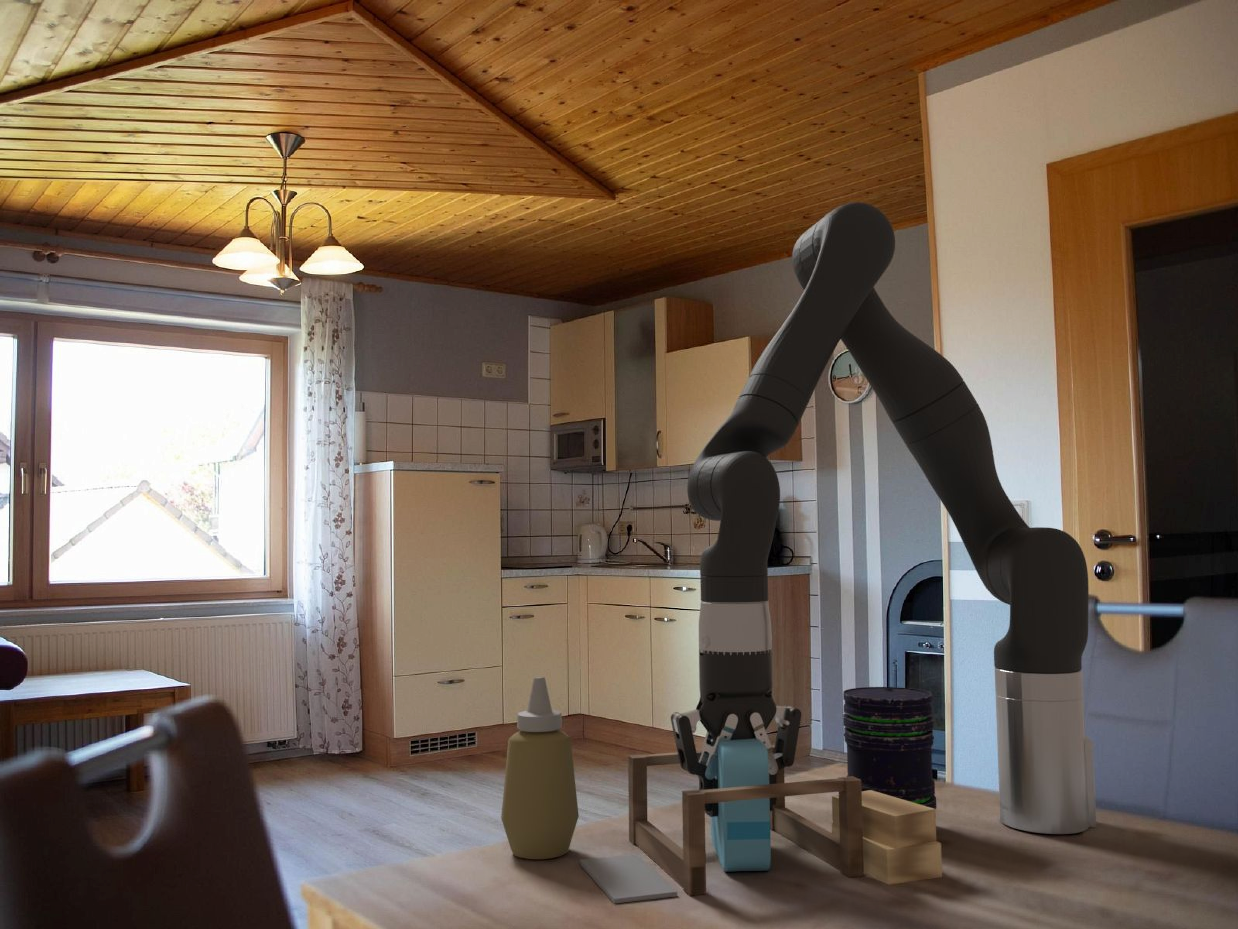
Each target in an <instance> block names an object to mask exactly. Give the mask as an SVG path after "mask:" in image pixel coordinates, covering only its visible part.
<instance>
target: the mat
mask: <svg viewBox="0 0 1238 929" xmlns="http://www.w3.org/2000/svg"><path fill="white" fill-rule="evenodd" d="M579 862H580V863H579V864H580V865H581V867H582V868H583V869H584V870H585V871H586V873H588V875H589V877H591V879H592V880H593V881H594V882H595V883H596V884H597V885H598V886H599V888H600V889H601V891H603V893H604V894H605V895H606V896H607V897H608V898H609V899H610V901H611V902H612V903H613V904H620V903H621V904H622V903H629V902H639V901H647V900H654V899H655V900H656V899H665V898H672V897H673V898H674V897H678V891H677V889H675V888H674V887H673V886H672V885H671V884H670V883H669V882H668V881H667V880H666V879H665V878H664V877H662V876H661V875H660V874H659V873H658V872H657V871H656V870H655V869H654V868H653V867H652V866H651V865H649V864H648V863H647V862H646V861H645V860H644V859H643V858H642V857H641V856H640V855H639V854H638V853H634V854H625V855H623V854H622V855H613V856H612V855H611V856H607V857H606V856H603V857H597V858H596V857H594V858H585V859H584V858H583V859H580V860H579Z"/></svg>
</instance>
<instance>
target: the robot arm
mask: <svg viewBox="0 0 1238 929" xmlns="http://www.w3.org/2000/svg"><path fill="white" fill-rule="evenodd" d="M895 250H896V236H895V231H894V228H893V226H892V223H891V222H890V220H889V218H888V217H887V216H886V214H884V212H883V211H881V210H880V209H879V208H877V207H876V206H874V205H872V204H870V203H866V202H860V201H859V202H858V201H855V202H849V203H848V202H847V203H846V204H842V205H839V206H837V207H836V208H834V209H833V210H831V211H829V212H828V213H826V214H825V215H824V216H822V218H821V219H819V220H818V221H817V222H816V223H814V224H813V225H812V226H810V228H808V229H807V230H806V231H805V232H803V233H802V234H801V235H800V236H799V238H798V239H797V240H796V242H795V243H794V246H793V250H792V256H791V257H792V268H793V271H794V274H795V276H796V278H797V281H798V283H799V284H800V286H801V288H802V289H803V293H802V294H801V295H800V298H799V300H798V301H797V303H796V304H795V305H794V306H793V309H792V311H791V312H790V314H789V315H788V316H787V318H786V319H785V321H784V322H783V324H782V325H781V327H780V328H779V329H777V332H776V333H775V335H774V336H773V337H772V339H771V340H770V341H769V343H767V346H766V347H765V349H763V351H762V353H761V354H760V356H759V358H758V360H757V361H756V363H755V364H754V366H753V368H752V370H751V372H750V374H749V376H748V378H747V380H746V382H745V383H744V386H743V388H742V390H741V392H740V394H739V396H738V398H737V399H736V400H737V401H736V403H735V405H734V408H733V409H732V412H731V413H730V414H729V416H728V417H727V418H726V419H725V420H724V421H723V423H722V424H721V425H720V426H719V427H718V428H717V429H716V431H715V433H714V434H713V435H712V436H711V438H710V439H709V440H708V442H707V443H706V445H704V448H703V449H702V450H701V452H700V453H699V454H698V456H697V457H696V459H695V461H694V463H693V465H692V466H691V470H690V471H689V472H690V473H689V476H688V479H687V488H686V489H687V491H686V492H687V498H688V501H689V503H690V506H691V508H692V509H693V511H694V512H695V513H696V514H698V516H700V517H702V518H703V519H706V520H709V521H716V522H719V521H720V522H719V529H718V534H717V539H716V541H715V543H713V544H712V545H710V546H707V547H706V548H704V550H703V552H702V553H701V557H700V565H699V575H700V577H699V578H700V579H699V582H700V605H699V606H700V608H699V618H698V668H699V670H698V671H699V672H698V674H699V675H698V676H699V677H698V679H699V684H698V686H699V694H700V695H699V700H698V703H697V705H696V707H695V709H693V710H689V711H687V712H686V711H685V712H681V713H680V712H677V711H676V712H673V713H672V714H671V716H670V722H671V727H672V732H673V736H674V740H675V741H674V742H675V746H676V752H678V756H679V761H680V764H679V765H680V768H681V769H682V770H684V771H686V772H688V773H689V774H690V775H693V776H694V775H695V776H697V777H698V790H708V789H718V780H717V779H716V778H715V776H716V774H717V771H718V744H719V742H727V741H730V740H738V739H752V738H755V739H759V740H760V741H761V742H762V743H763V744H764V745H765V746H766V748H767V752H768V759H769V784H777V782H776V775H777V772H778V771H779V770H780V769H782V768H784V769H785V768H786V767H787V768H790V767H792V766H793V765H794V762H795V757H796V751H797V745H798V744H797V743H798V738H799V733H800V732H799V731H800V725H801V720H802V711H801V709H799V708H798V707H797V708H796V707H793V706H791V705H786V704H785V705H782V706H781V705H776V704H777V703H775V701H774V698H773V688H774V686H773V682H774V681H773V648H772V647H773V646H772V644H773V634H772V621H771V620H772V619H771V613H770V607H769V605H770V604H769V576H768V574H769V572H768V569H769V568H768V559H769V555H770V551H771V549H772V548H771V547H772V543H773V539H774V537H775V536H774V535H775V529H776V526H777V520H778V516H779V510H780V504H781V500H780V499H781V486H780V481H779V477H778V474H777V471H776V470H775V467H774V465H773V464H772V463H771V461H770V460H769V459H768V456H770V455H771V454H773V453H775V452H776V451H779V450H781V449H783V448H784V447H785V446H786V445H788V443H789V442H790V441H791V439H792V438H793V436H794V435H795V432H796V430H797V428H798V426H799V424H800V422H801V421H802V418H803V416H804V413H805V411H806V410H807V407H808V404H809V402H810V400H811V398H812V396H813V394H814V392H815V390H816V387H817V385H818V383H819V381H820V379H821V376H822V374H823V373H824V370H825V369H826V366H827V365H828V362H829V361H830V359H831V358H832V356H833V353H834V352H835V350H836V348H837V346H838V344H839V342H840V341H841V342H842V343H843V345H844V346H845V348H846V349H847V350H848V353H849V354H850V355H851V356H852V357H851V358H853V360H854V362H855V364H856V365H857V367H858V368H859V370H860V371H861V372H862V374H863V376H864V378H865V379H866V381H867V382H868V384H869V386H870V387H871V389H872V390H873V392H874V394H875V395H876V397H877V398H878V400H879V402H880V403H881V405H882V407H883V409H884V411H885V413H886V414H887V416H888V418H889V419H890V421H891V423H892V424H893V427H894V428H895V429H896V431H897V433H898V434H899V436H900V438H901V439H902V441H903V443H904V444H905V447H907V450H908V451H909V453H911V455H912V456H913V459H914V460H915V461H916V463H917V465H918V466H919V467H920V470H921V472H922V473H923V474H924V476H925V478H926V479H927V480H928V483H929V484H930V486H931V487H932V489H933V491H934V493H935V494H936V496H937V497H938V499H939V500H940V501H941V504H943V507H944V508H945V509H946V511H947V512H948V515H949V516H950V518H951V520H952V522H953V525H954V526H955V528H956V530H957V532H958V534H959V536H960V539H961V540H962V544H963V545H964V547H965V549H966V552H967V553H968V556H969V558H970V560H971V563H972V565H973V566H974V569H975V571H976V573H977V575H978V576H979V579H980V580H981V582H982V585H983V586H984V587H985V589H986V590H987V591H988V592H989V593H990V594H991V595H992V596H993V597H995V598H996V599H997V600H999V601H1000V602H1002V603H1003V604H1005V605H1009V624H1008V630H1007V632H1006V634H1005V635H1004V637H1003V638H1001V639H1000V640H998V641H996V643H995V645H994V648H993V664H994V665H993V666H994V685H995V686H994V688H995V689H994V690H995V710H996V712H995V713H996V714H995V717H996V739H997V746H996V747H997V770H998V793H999V794H998V796H999V798H998V799H999V820H1000V821H1001V823H1002V824H1004V825H1006V826H1008V827H1010V828H1013V829H1017V830H1020V831H1025V832H1030V833H1037V834H1045V835H1046V834H1049V835H1070V834H1077V833H1081V832H1085V831H1087V830H1088V829H1089V828H1092V827H1097V810H1096V809H1097V808H1096V788H1095V784H1096V783H1095V769H1094V768H1095V767H1094V766H1095V765H1094V762H1095V761H1094V746H1093V745H1094V744H1093V741H1092V739H1091V738H1090V737H1087V736H1085V734H1086V733H1085V730H1086V729H1085V715H1084V714H1085V711H1084V710H1085V709H1084V708H1085V707H1084V691H1083V690H1084V689H1083V671H1082V668H1083V667H1082V660H1083V658H1082V657H1083V654H1084V651H1085V649H1086V646H1087V643H1088V639H1089V591H1090V590H1089V572H1088V565H1087V560H1086V557H1085V553H1084V551H1083V549H1082V547H1081V546H1080V544H1079V543H1078V541H1077V540H1076V539H1075V538H1074V537H1073V536H1072V535H1070V534H1069V533H1067V532H1066V531H1064V530H1061V529H1058V528H1054V527H1038V526H1037V527H1030V526H1029V525H1028V524H1027V523H1026V522H1025V520H1024V519H1023V518H1022V516H1021V514H1020V513H1019V512H1018V511H1017V509H1016V507H1015V506H1014V504H1013V502H1012V501H1011V500H1010V498H1009V497H1008V495H1007V493H1006V491H1005V490H1004V487H1003V486H1002V484H1001V480H1000V478H999V476H998V473H997V468H996V464H995V457H994V450H993V445H992V443H993V442H992V439H991V434H990V430H989V426H988V423H987V420H986V418H985V415H984V413H983V411H982V409H981V408H980V405H979V403H978V402H977V400H976V398H975V396H974V394H973V393H972V391H971V390H970V388H969V387H968V385H967V384H966V382H965V381H964V379H963V377H962V376H961V373H959V371H958V370H957V369H956V366H954V365H953V364H952V363H951V362H950V361H949V360H948V359H947V358H945V357H944V355H942V354H941V353H940V352H938V351H937V350H936V349H934V348H933V347H931V346H930V345H929V344H927V343H926V342H925V341H923V340H921V339H920V338H918V337H917V336H915V335H914V334H913V333H911V332H910V331H909V330H908V329H906V328H905V327H904V326H903V325H901V323H900V322H898V321H897V320H896V319H895V317H894V316H893V315H892V314H891V313H890V311H889V309H888V308H887V307H886V305H885V304H884V302H883V300H882V299H881V297H880V296H879V294H878V292H877V290H876V289H875V286H876V284H877V283H878V282H879V280H880V278H882V276H883V274H884V273H885V272H886V270H887V269H888V267H889V266H890V265H891V262H892V260H893V257H894V255H895ZM774 718H775V724H776V726H777V732H776V739H775V743H774V745H775V749H774V754H773V753H772V750H773V749H772V746H771V745H772V744H771V740H770V738H769V735H768V733H767V729H768V727H769V725H770V724H771V722H772V721H773V719H774ZM698 722H700V723H701V725H702V726H703V727H704V729H705V731H706V734H705V737H704V740H703V743H702V745H701V751H702V754H701V757H700V760H699V762H698V757H697V752H696V751H697V748H696V744H695V739H694V735H693V734H695V733H696V731H697V724H698ZM715 742H716V743H715ZM776 801H777V797H774V798H770V811H772V805H775V804H776ZM705 815H707V816H709V817H717V816H718V815H719V807H718V803H707V804H705Z"/></svg>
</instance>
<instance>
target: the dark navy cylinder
mask: <svg viewBox="0 0 1238 929" xmlns="http://www.w3.org/2000/svg"><path fill="white" fill-rule="evenodd" d="M842 696H843V700H844V704H843V713H844V714H843V715H842V720H843V721H842V725H843V726H844V733H843V736H844V742H845V743H846V758H847V759H846V760H847V762H846V763H847V766H846V767H847V776H846V777H851V776H853V777H856V778H858V779H860V780H861V791H868V790H872V791H876V792H879V793H882V794H886V795H889V796H893V797H896V798H899V799H903V800H906V801H909V802H913V803H916V804H920V805H923V806H926V807H930V808H933V809H935V811H936V810H937V797H936V786H935V785H936V784H935V780H934V778H933V763H932V760H933V758H932V747H933V745H934V739H935V737H934V731H933V729H934V727H935V726H934V717H933V707H932V704H931V703H932V702H933V697H932V696H933V695H932V692H930V691H927V690H923V689H917V688H909V687H897V686H895V687H894V686H867V687H866V686H865V687H855V688H854V687H853V688H848V689H845V690H844V691H843V694H842ZM935 815H936V812H935Z"/></svg>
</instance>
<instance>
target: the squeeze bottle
mask: <svg viewBox="0 0 1238 929" xmlns="http://www.w3.org/2000/svg"><path fill="white" fill-rule="evenodd" d="M532 680H533V681H532V685H531V688H530V695H529V700H528V703H527V708H526V709H527V710H523V711H519V712H518V713H517V714H516V722H517V723H516V726H517V729H518V731H517V732H515V733H513V735H511V736H510V737H509V738H508V741H507V752H506V763H505V764H506V765H505V770H504V771H505V772H504V783H503V784H504V785H503V794H502V802H501V803H502V804H501V816H500V818H501V822H502V826H503V828H504V832H505V834H506V838H507V840H508V844H509V847H510V851H511V852H512V855H513V856H515V857H518V858H520V859H521V858H522V859H527V860H548V859H553V858H558V857H562V856H564V855H565V854H567V853H568V851H569V849H570V846H571V843H572V840H573V836H574V832H575V829H576V826H577V823H578V821H579V816H580V813H579V807H578V795H577V788H576V776H575V767H574V758H573V749H572V740H571V737H570V736H569V735H568V734H567V733H566V732H565V731H563V730H560V729H561V728H562V723H563V722H562V721H563V720H562V718H563V717H562V716H563V715H562V712H561V711H559V710H556V709H555V710H553V709H552V705H551V700H550V699H551V698H550V696H549V692H548V687H547V682H546V678H545V677H543V676H536V677H533V679H532Z"/></svg>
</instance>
